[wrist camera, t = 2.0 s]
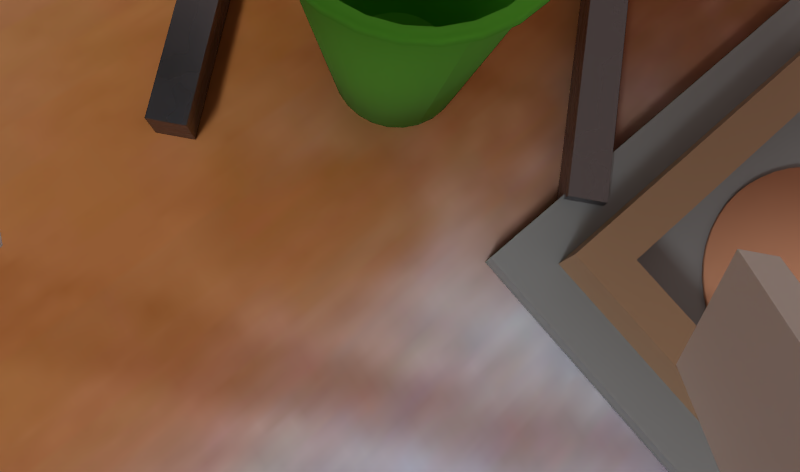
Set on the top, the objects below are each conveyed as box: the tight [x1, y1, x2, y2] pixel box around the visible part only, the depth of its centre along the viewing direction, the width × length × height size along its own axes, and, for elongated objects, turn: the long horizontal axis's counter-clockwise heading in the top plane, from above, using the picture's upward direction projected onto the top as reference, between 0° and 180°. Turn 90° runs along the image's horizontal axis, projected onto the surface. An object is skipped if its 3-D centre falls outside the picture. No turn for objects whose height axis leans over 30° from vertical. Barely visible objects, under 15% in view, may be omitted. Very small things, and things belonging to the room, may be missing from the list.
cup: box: [300, 0, 550, 127], centre depth 23 cm, size 9×9×11 cm
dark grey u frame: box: [145, 0, 628, 206], centre depth 28 cm, size 14×18×2 cm
